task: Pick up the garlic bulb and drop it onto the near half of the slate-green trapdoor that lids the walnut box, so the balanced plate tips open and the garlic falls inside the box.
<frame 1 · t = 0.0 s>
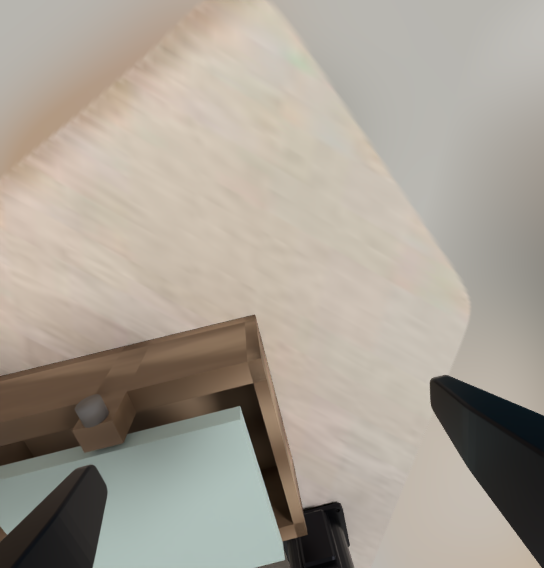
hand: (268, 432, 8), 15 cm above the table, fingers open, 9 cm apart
trapdoor plate: (149, 519, 19), point 7 cm above the table, hinge at 0.0°
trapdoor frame: (173, 424, 26), on the table
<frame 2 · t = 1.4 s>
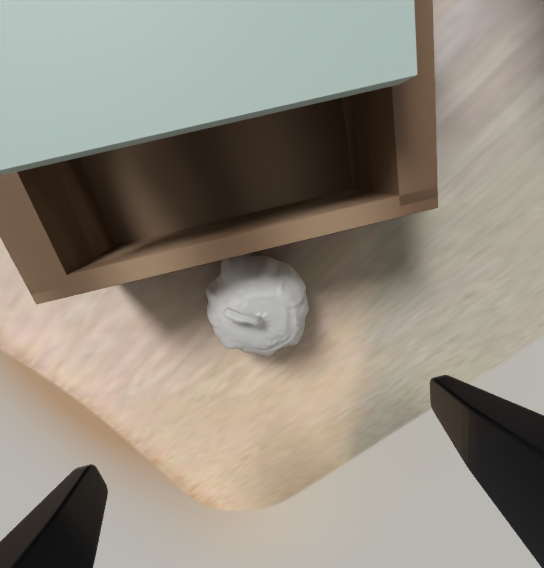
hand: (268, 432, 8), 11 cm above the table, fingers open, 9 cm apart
garlic: (254, 287, 19), on the table
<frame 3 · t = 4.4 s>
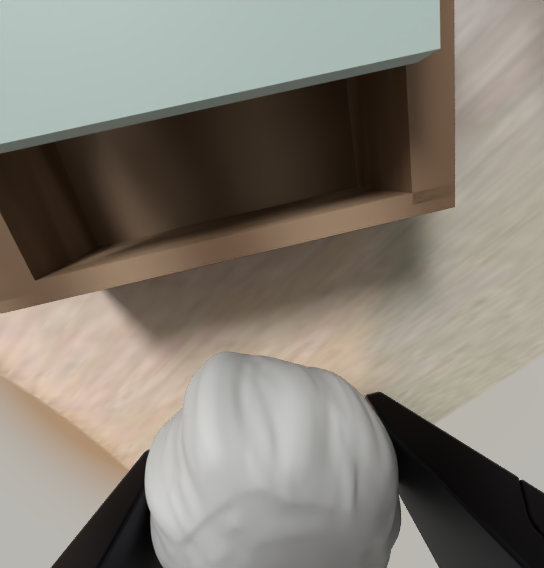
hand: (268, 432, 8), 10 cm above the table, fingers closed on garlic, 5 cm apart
garlic: (263, 401, 9), point 9 cm above the table, touching gripper
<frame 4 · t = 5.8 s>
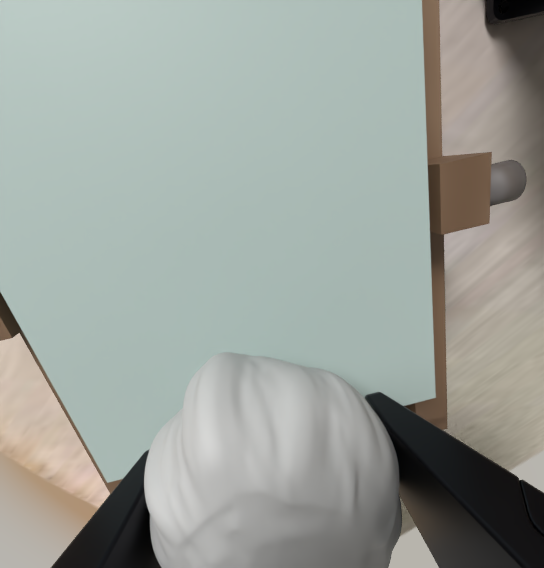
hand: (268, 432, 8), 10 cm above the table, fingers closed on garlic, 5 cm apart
trapdoor plate: (223, 248, 9), point 8 cm above the table, hinge at 0.0°
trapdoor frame: (228, 215, 16), on the table
garlic: (263, 401, 9), point 9 cm above the table, touching gripper
when the fingers open (10 cm above the table, at t = 6.2 s): garlic drops 5 cm, resting on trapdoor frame, trapdoor plate.
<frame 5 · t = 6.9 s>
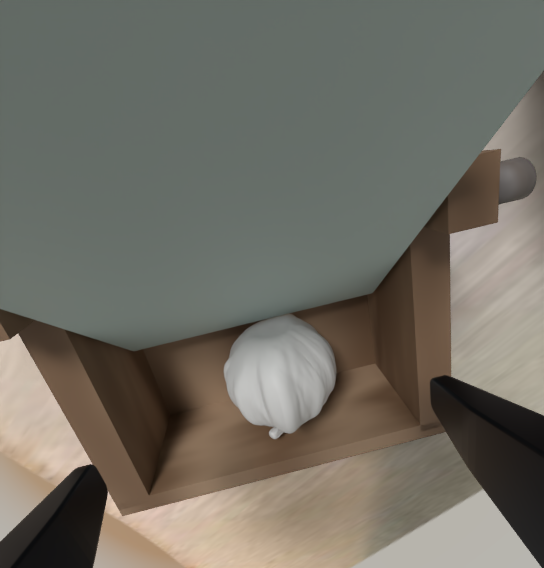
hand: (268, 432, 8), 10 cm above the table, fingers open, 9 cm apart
trapdoor plate: (225, 247, 9), point 8 cm above the table, hinge at -49.0°, touching garlic
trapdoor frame: (229, 214, 16), on the table
garlic: (266, 326, 14), point 4 cm above the table, touching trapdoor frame, trapdoor plate
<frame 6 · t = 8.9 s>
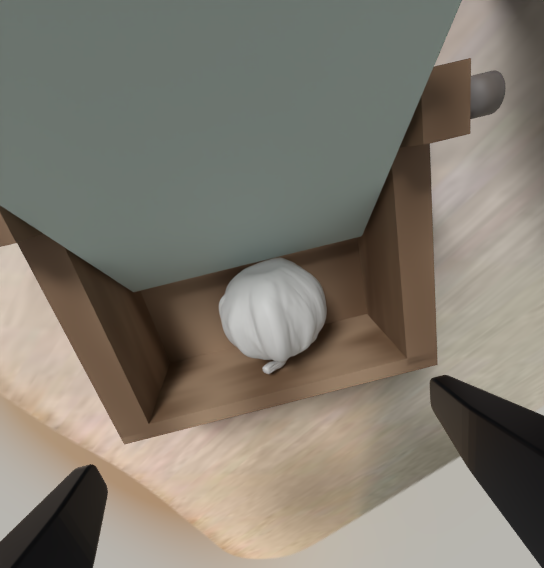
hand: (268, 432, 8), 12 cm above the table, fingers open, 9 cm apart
trapdoor plate: (214, 159, 10), point 7 cm above the table, hinge at -49.0°, touching garlic
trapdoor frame: (223, 163, 17), on the table
garlic: (259, 264, 15), point 4 cm above the table, touching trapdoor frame, trapdoor plate
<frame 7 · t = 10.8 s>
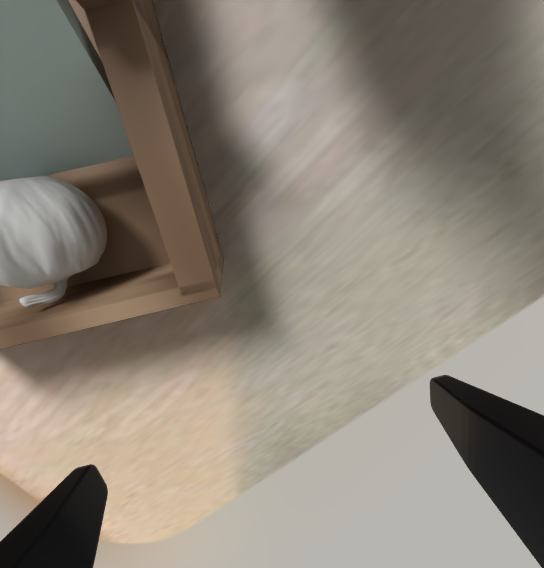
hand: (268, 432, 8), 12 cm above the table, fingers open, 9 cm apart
garlic: (7, 176, 13), point 4 cm above the table, touching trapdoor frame, trapdoor plate
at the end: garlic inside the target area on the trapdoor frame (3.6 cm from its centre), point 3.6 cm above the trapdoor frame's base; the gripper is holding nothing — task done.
